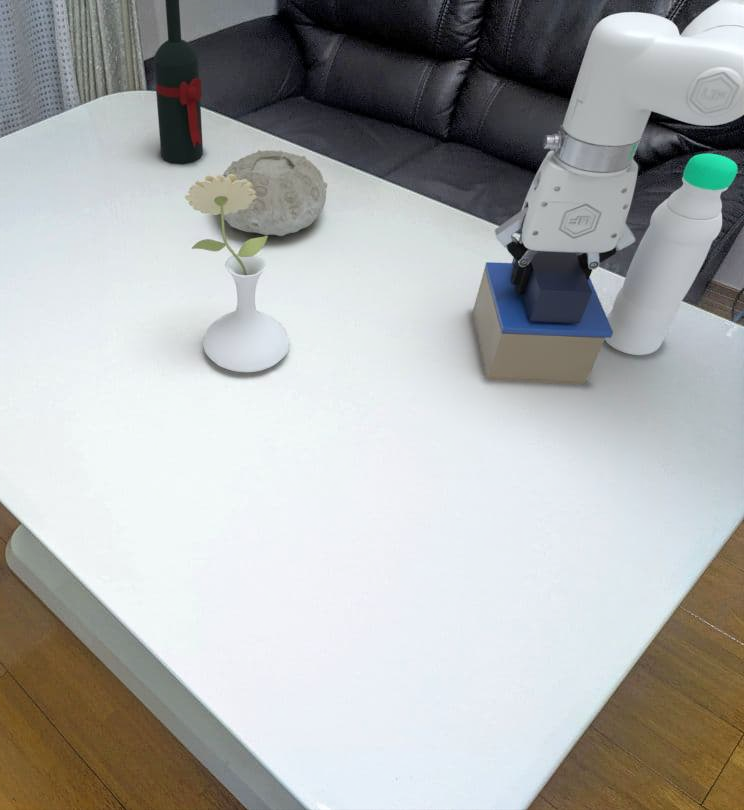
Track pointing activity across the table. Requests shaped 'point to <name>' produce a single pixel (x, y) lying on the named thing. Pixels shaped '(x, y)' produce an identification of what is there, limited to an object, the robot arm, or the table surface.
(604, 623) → the table surface
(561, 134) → the robot arm
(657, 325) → the water bottle
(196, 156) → the wine bottle
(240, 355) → the flower in vase
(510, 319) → the container lid
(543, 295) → the case
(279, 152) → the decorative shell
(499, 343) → the container
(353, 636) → the table surface
